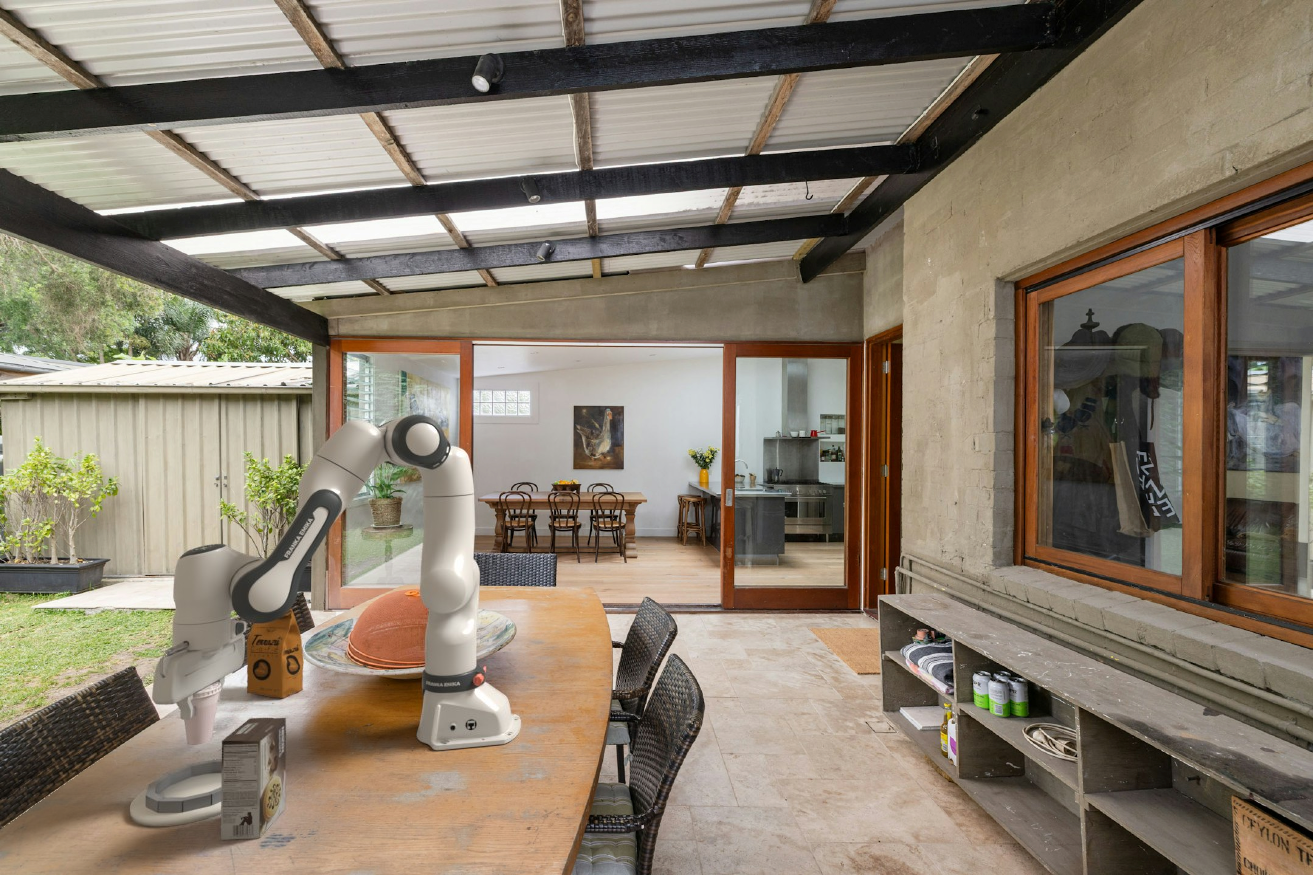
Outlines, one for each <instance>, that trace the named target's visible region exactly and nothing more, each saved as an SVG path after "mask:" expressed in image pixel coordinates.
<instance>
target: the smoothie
mask: <svg viewBox="0 0 1313 875" xmlns="http://www.w3.org/2000/svg"><path fill="white" fill-rule="evenodd" d="M220 691H221V692H222V689H221V683H219V682H214V683H212V684H210V685H208V686H206V687H205V688H203V689H201V690H199V691H197V692H195V693H194V694H193V699H192V700H191V703H192V706H193V707H194V706H196V715H195V716H194V717H192V718H191V719H189V720H184V729H185V735H186V743H187V745H189V746H197V745H203V744H206V743H207V742H210V741H212V739H213V733H214V726H215V721H216V720H215V719H216V714H217V708H218V703H219V702H218V696H219V692H220ZM221 692H220V693H221Z"/></svg>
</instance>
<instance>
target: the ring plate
mask: <svg viewBox="0 0 1313 875" xmlns="http://www.w3.org/2000/svg"><path fill="white" fill-rule="evenodd" d="M221 781H222V758H216V759H215V758H214V759H209V760H204V761H199V762H195V763H190V764H187V765H184V766H182V767H179V768H176V769H174V770H171V771H169V772H166V773H165V774H163V775H161V776H159V778H157V779H155V780H154V781H152V782H151V783H149V784H148V786H147V788H145V789H144V790H143V791H141V792H140V793H139V794H138V795H136V796H135V797H134V799H133V800H132V801H131V803H130V806H129V817H130V819H131V820H132V821H133V822H134V823H136V824H137V825H143V826H146V827H161V828H162V827H173V826H180V825H186V824H187V825H188V824H192V823H196V822H200V821H203V820H208V819H210V818H213V817H217V816H218V815H221Z"/></svg>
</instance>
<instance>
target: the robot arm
mask: <svg viewBox="0 0 1313 875" xmlns="http://www.w3.org/2000/svg"><path fill="white" fill-rule="evenodd" d="M383 463H384V464H388V465H392V466H396V467H399V466H400V467H407V468H410V467H411V468H412V467H415V468H416V470H418V472H419V474H420V476H421V481H422V509H423V510H422V511H423V512H422V514H423V537H422V538H423V540H422V550H421V562H420V564H421V565H420V582H419V597H420V600H421V602H422V604H423V605H424V607H426V609H427V608H428V609H429V612H428V611H427V612H428V616H427V619H428V621H427V620H426V629H425V633H424V634H425V635H424V636H425V637H424V638H425V639H424V669H423V670H422V676H421V677H422V678H421V690H422V696H423V703H422V709H421V714H420V715H421V716H420V721H419V724H418V725H419V726H418V728H417V731H416V738H417V739H418V740H419V742H421V743H423V744H427V745H429V746H430V747H431V748H432V750H434V751H443V750H444V751H445V750H455V749H463V748H465V749H466V748H474V747H475V748H476V747H484V746H485V747H486V746H496V745H505V744H507V743H509V742H511V741H512V740H514V739H515V737H517V735H518V734H519V733H520V731H521V727H522V720H521V718H520V716H519V715H518V714H516V713H514V714H513V713H512V711H511V704H510V701H509V699H508V696H506V695H505V694H504V693H502V692H501V691H500V690H498V689H497V688H495V687H494V686H493V685H491V684H489V683H488V682H486V672H487V666H483V668H482V667H481V666H479V664H477V647H478V646H477V644H478V643H477V642H478V641H477V640H478V639H477V636H478V635H477V630H478V617H479V603H480V600H479V599H480V582H481V579H480V578H481V572H480V567H479V565H478V563H477V561H476V560H475V559H474V552H475V551H474V550H475V535H476V510H475V509H476V508H475V507H476V506H475V494H474V493H475V486H474V476H473V471H472V464H471V460H470V456H469V454H468V453H467V452H466V451H465V450H464V449H463V448H461V447H458V446H455V445H451V442H449V440H448V438H447V437H446V435H445V432H444V431H443V429H442V427H441V426H440V424H439V423H438V422H437V421H436V420H435V419H433V418H432V417H429V416H428V415H427V416H426V415H423V414H412V415H411V414H410V415H409V414H408V415H402V416H399V417H396V418H395V419H391V420H389V421H387V422H385V423H383V424H381V425H379V426H375V425H374V424H372V423H370V422H368V421H365V420H362V419H352V420H349V421H346V422H345V423H344V424H343V425H341V426H340V427H339V428H338V429H337V430H336V431H335V432H333V434H332V435H331V436H330V437H329V438H328V439H327V440H326V441H325V443H324V444H323V445H322V446H321V447H320V449H319V450H318V451H317V452H316V454H315V455H314V456H313V458H312V459H311V460H310V461H309V463H308V465H307V466H306V469H305V470H304V472H303V474H302V476H301V479H300V480H299V483H298V486H297V491H298V493H297V494H298V502H297V503H298V505H297V510H296V512H295V515H294V517H293V519H292V521H291V523H290V524H289V525H288V527H287V528H286V531H285V532H284V533H283V535H282V536H281V537H280V539H279V541H278V542H277V544H276V545H275V547H274V548H273V549H272V551H271V552H270V554H269V555H268V557H267V558H266V557H259V556H254V555H250V554H246V553H243V552H240V551H238V550H235V548H234V549H233V548H231V547H229V545H227V544H224V543H214V544H205V545H202V546H198V547H195V548H191V549H189V550H187V551H185V552H183V554H181V556H180V557H179V558H178V559H177V561H176V564H175V565H176V566H175V570H174V576H173V590H172V591H173V594H172V595H173V597H172V598H173V601H174V604H175V612H174V615H173V618H172V635H171V636H172V640H171V643H172V646H171V647H169V648H167V649H166V650H165V651H164V653H163V655H162V656H161V658H160V659H159V661H158V662H157V665H156V667H155V672H154V676H153V682H152V683H153V684H152V694H151V699H152V701H153V702H154V704H155V705H162V706H163V705H175V704H176V706H177V707H178V709H179V710H180V711H179V712H180V719H181V720H189V719H191V718H192V717H194V716H195V715H196V706H194V707H193V706H192V703H191V700H192V699H193V694H194V693H195V692H197V691H199V690H201V689H203V688H205V687H206V686H208V685H210V684H212V683H214V682H219V683H221V691H220V692H219V696H218V702H217V703H219V702H220V701H221V692H222V689H223V686H224V684H225V682H226V681H225V679H226V676H229V675H230V674H232V673H234V672H235V671H237V670H239V669H241V668H242V665H243V663H244V661H245V652H246V651H245V648H246V647H245V646H246V637H245V634H244V633H245V632H246V631H247V622H249V623H252V624H253V623H268V622H272V621H275V620H277V619H279V618H281V617H282V616H283V615H285V614H286V613H287V612H288V611H289V610H290V609H292V607H293V606H294V604H295V602H296V600H297V597H298V593H299V586H300V581H301V577H302V575H303V573H304V570H305V569H306V567H307V566H308V564H309V562H310V561H311V559H312V558H313V556H314V555H315V553H316V551H317V550H318V548H319V547H320V546H321V543H322V542H323V541H324V539H325V538H326V536H327V534H328V532H329V531H330V529H331V527H332V526H333V525H334V523H335V522H336V521H337V520H338V519H339V517H340V516H341V515H342V514H343V512H344V511H346V509H347V508H348V506H349V505H350V504H351V503H352V502H353V500H354V499H355V498H356V496H358V494H360V491H361V490H362V489H363V488H364V486H365V484H366V483H367V481H368V480H369V478H370V477H371V475H372V474H373V472H374V471H375V470H376V469H377V468H378V467H379V466H381V465H382V464H383ZM233 611H234V612H235V613H236V615H237V616H238V617H239V618H240V619H242V620H236V619H234V620H233V619H232V612H233Z"/></svg>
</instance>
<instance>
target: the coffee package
mask: <svg viewBox="0 0 1313 875" xmlns="http://www.w3.org/2000/svg"><path fill="white" fill-rule="evenodd" d="M246 650H247V653H246V663H247V665H246V666H247V667H246V675H247V678H246V679H247V680H246V683H247V686H246V693H247V694H251V695H259V696H263V697H265V696H266V697H270V698H279V699H286V698H287V697H290V695H291V696H292V695H294V694H297V693H300V692H301V691H303V690H304V689H303V684H304V683H303V682H304V680H303V679H304V678H303V677H304V674H303V673H304V663H305V662H304V653H303V642H302V635H301V633H300V628H299V626H298V622H297V619H296V617H295V614H294V611H293V609H292V608H291V609H290V610H289V611H288V612H287V613H286V614H285V615H283V616H282V617H281V618H279V619H277V620H275V621H272V622H268V623H252V626H251V628H250V632H249V634H248V637H247V639H246Z"/></svg>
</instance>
